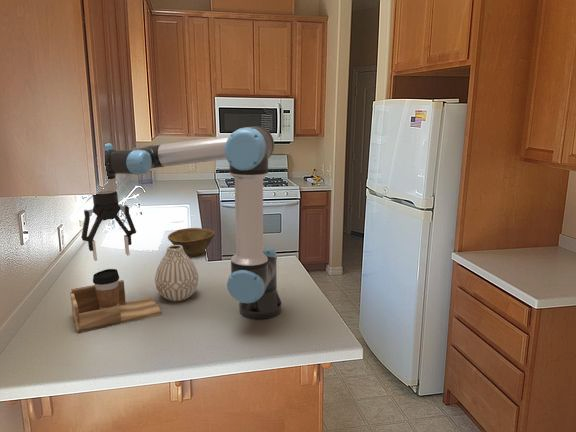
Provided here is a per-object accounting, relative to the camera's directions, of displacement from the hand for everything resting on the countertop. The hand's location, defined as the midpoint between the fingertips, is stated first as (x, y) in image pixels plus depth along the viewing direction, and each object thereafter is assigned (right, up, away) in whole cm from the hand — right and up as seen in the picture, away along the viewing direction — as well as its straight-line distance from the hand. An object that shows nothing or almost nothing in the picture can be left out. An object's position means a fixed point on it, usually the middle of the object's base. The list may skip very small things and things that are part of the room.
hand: (111, 256), depth 156 cm
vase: (+17, -17, +21) cm, 32 cm away
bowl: (+12, -5, +72) cm, 73 cm away
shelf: (0, -21, +5) cm, 22 cm away
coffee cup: (-2, -20, +4) cm, 21 cm away
